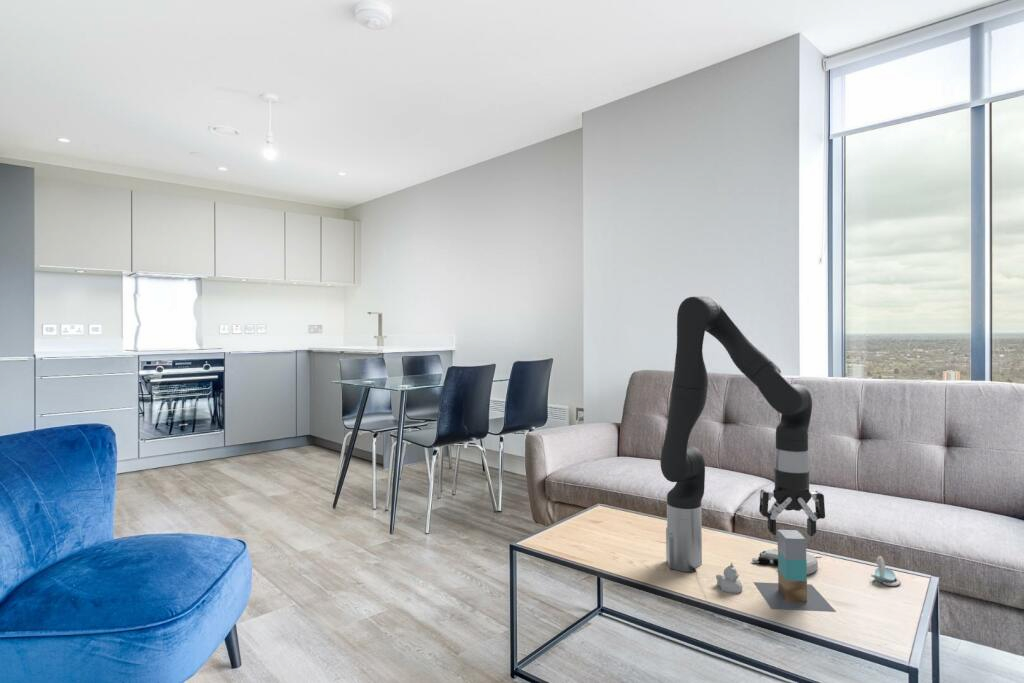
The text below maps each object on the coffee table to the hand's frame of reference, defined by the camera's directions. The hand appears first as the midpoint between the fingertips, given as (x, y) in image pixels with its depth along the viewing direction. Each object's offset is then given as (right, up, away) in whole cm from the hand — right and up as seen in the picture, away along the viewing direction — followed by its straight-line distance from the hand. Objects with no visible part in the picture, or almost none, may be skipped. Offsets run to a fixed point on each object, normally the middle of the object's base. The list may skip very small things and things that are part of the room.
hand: (791, 534), depth 136 cm
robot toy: (+8, -16, +18) cm, 26 cm away
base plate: (0, -16, 0) cm, 16 cm away
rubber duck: (-13, -17, +5) cm, 22 cm away
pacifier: (+30, -16, +10) cm, 35 cm away
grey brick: (0, -5, 0) cm, 5 cm away
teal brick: (0, -10, 0) cm, 10 cm away
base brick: (0, -15, 0) cm, 15 cm away
